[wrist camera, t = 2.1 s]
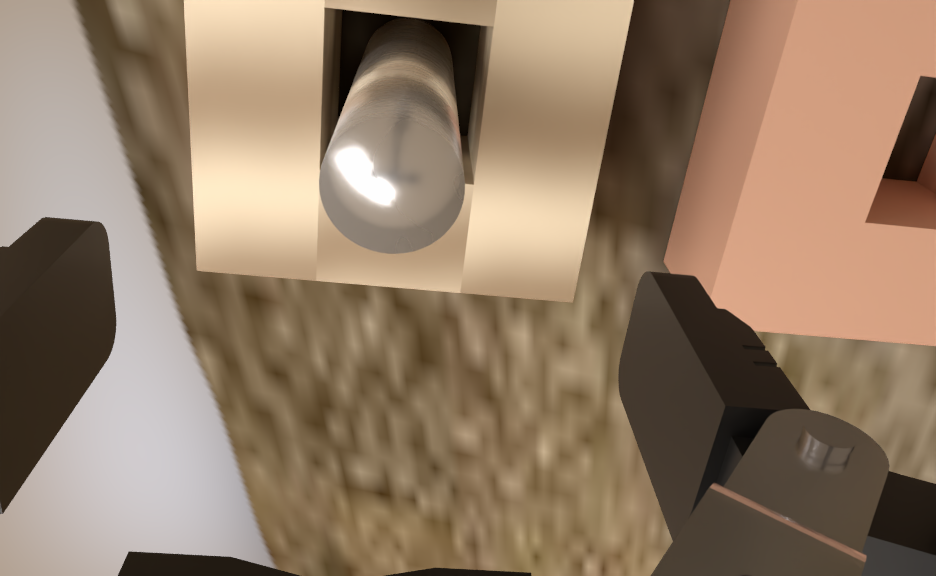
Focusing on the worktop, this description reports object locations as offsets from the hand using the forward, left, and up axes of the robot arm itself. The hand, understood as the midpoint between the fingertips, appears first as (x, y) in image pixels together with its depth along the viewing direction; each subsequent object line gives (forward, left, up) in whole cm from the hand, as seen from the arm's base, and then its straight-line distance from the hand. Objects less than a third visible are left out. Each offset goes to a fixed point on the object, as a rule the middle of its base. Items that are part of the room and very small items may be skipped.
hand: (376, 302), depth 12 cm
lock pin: (0, 0, -17) cm, 17 cm away
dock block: (0, +17, -17) cm, 24 cm away
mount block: (0, 0, -17) cm, 17 cm away
